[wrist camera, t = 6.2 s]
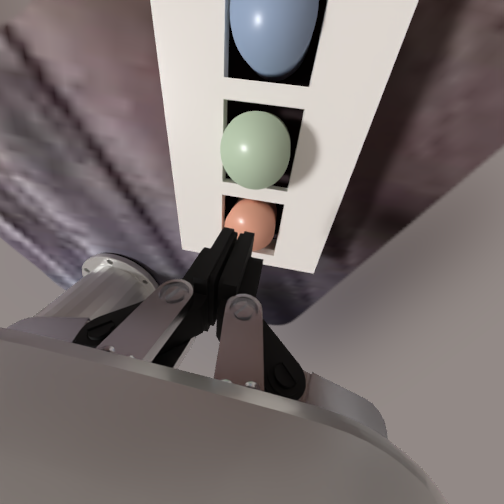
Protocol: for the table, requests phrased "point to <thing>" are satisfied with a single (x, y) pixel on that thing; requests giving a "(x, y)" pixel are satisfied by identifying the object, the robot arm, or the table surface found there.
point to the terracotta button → (253, 220)
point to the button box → (308, 98)
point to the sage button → (255, 149)
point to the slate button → (273, 34)
